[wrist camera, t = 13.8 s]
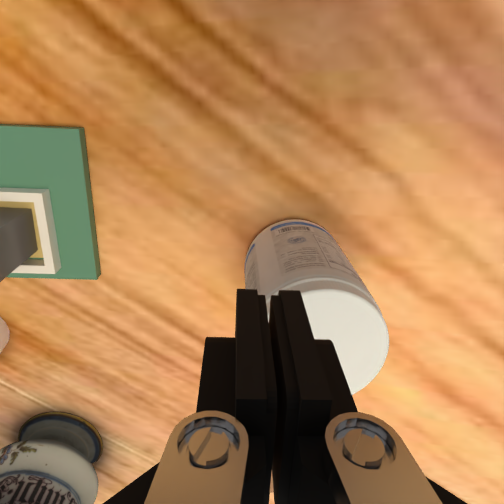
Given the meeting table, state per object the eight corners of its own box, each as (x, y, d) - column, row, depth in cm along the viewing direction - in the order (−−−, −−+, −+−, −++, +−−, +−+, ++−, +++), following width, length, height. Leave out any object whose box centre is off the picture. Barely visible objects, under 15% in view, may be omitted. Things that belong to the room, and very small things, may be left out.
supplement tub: (291, 318, 43) (316, 429, 29) (224, 265, 40) (217, 360, 26) (359, 256, 40) (422, 346, 26) (292, 194, 37) (323, 260, 24)
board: (-62, 121, 34) (-84, 124, 31) (83, 127, 34) (72, 131, 32) (-24, 270, 39) (-41, 283, 37) (100, 274, 40) (92, 286, 37)
